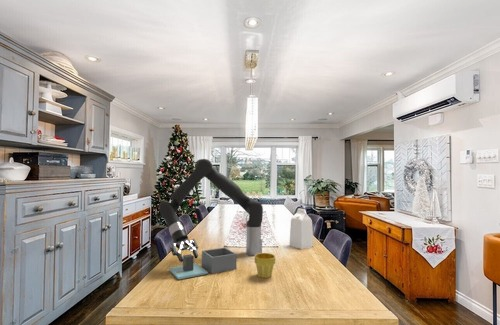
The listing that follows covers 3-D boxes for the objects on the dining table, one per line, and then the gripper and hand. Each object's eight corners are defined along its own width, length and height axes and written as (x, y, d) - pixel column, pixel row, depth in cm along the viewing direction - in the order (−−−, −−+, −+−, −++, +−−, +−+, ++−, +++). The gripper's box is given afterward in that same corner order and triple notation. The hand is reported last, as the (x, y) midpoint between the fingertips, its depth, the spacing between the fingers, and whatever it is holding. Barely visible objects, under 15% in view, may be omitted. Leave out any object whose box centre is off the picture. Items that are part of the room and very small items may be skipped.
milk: (313, 247, 192) (313, 209, 193) (301, 249, 185) (301, 210, 186) (301, 243, 202) (301, 207, 203) (289, 245, 195) (289, 208, 196)
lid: (196, 266, 149) (196, 250, 150) (207, 275, 137) (208, 257, 137) (168, 271, 141) (169, 254, 142) (178, 281, 129) (178, 262, 129)
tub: (224, 261, 157) (225, 247, 158) (236, 269, 145) (236, 253, 146) (201, 265, 150) (201, 250, 150) (211, 273, 138) (212, 257, 138)
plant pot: (273, 280, 130) (274, 259, 131) (252, 278, 133) (252, 258, 133) (276, 272, 141) (276, 253, 141) (256, 271, 143) (256, 252, 143)
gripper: (168, 230, 140) (180, 258, 131) (192, 226, 150) (204, 252, 142) (163, 239, 143) (174, 266, 135) (186, 235, 154) (198, 260, 145)
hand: (189, 259), depth 138 cm, fingers open, 8 cm apart
